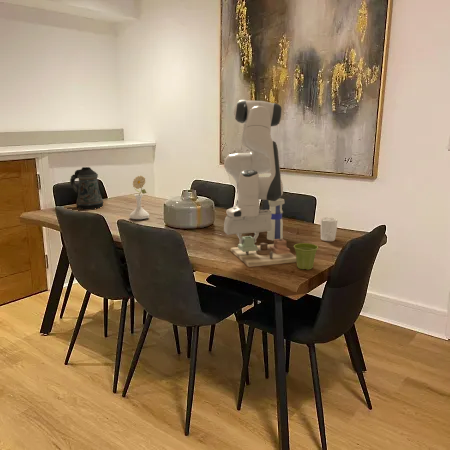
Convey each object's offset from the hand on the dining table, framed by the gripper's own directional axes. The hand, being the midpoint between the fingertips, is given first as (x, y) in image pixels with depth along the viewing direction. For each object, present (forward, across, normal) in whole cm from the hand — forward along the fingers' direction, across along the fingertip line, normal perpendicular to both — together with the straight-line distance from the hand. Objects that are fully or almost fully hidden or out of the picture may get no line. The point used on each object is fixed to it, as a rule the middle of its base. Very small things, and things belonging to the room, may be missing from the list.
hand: (247, 242), depth 190 cm
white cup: (+7, -48, -15) cm, 50 cm away
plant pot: (+7, -17, +18) cm, 26 cm away
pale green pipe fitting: (+3, 0, 0) cm, 3 cm away
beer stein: (+6, +59, -126) cm, 140 cm away
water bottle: (+7, -24, -24) cm, 34 cm away
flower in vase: (+6, +32, -84) cm, 90 cm away
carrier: (+6, -7, 0) cm, 10 cm away
